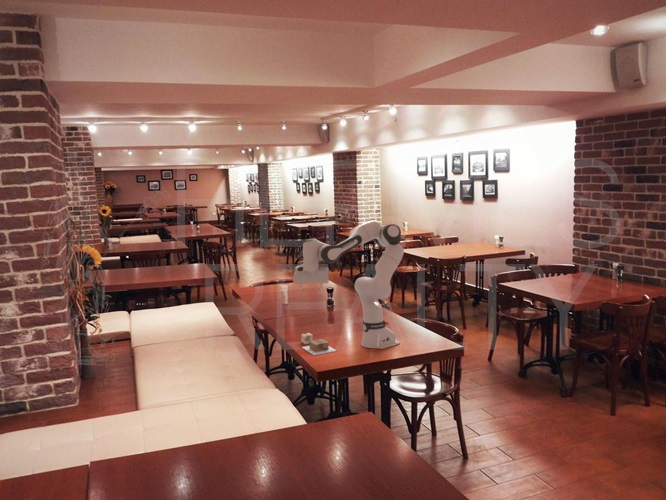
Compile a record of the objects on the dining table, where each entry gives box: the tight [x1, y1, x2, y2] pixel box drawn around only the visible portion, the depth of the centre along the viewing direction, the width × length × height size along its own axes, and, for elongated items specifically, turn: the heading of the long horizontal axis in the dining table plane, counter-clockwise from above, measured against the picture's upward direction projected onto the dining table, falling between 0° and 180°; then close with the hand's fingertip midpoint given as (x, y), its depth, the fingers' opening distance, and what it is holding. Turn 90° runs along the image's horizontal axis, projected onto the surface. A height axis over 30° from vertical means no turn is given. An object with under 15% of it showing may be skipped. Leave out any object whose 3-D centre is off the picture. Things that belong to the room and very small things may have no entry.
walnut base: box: [309, 338, 329, 352], centre depth 298 cm, size 8×8×4 cm
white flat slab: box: [301, 345, 338, 357], centre depth 298 cm, size 14×16×1 cm
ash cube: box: [301, 332, 314, 345], centre depth 312 cm, size 5×5×5 cm
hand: (311, 291), depth 302 cm, fingers open, 8 cm apart
